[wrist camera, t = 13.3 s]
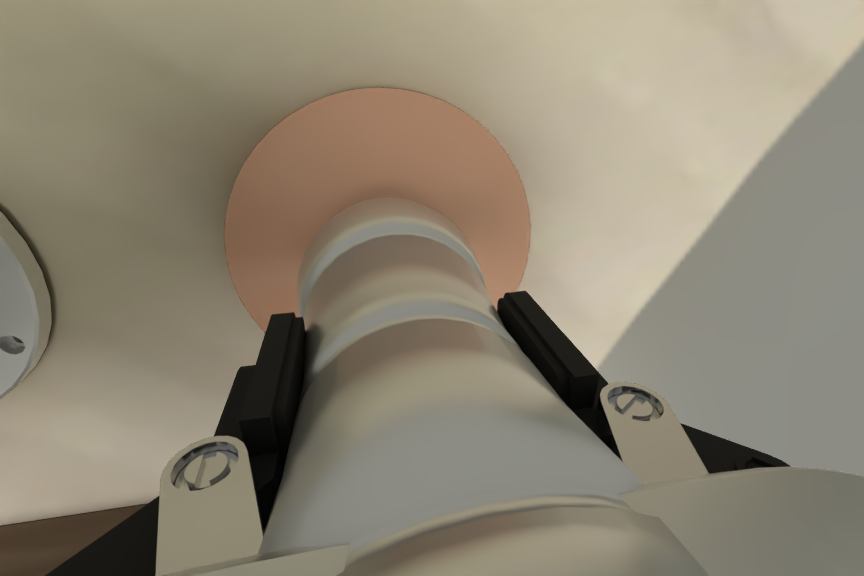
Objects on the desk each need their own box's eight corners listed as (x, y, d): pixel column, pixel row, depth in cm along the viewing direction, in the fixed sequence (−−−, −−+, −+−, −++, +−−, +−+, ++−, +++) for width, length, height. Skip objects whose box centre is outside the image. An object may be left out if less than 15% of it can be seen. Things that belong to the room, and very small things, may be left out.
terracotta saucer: (198, 88, 16) (186, 88, 15) (533, 86, 18) (545, 86, 17) (261, 377, 21) (257, 392, 20) (510, 349, 23) (518, 361, 22)
